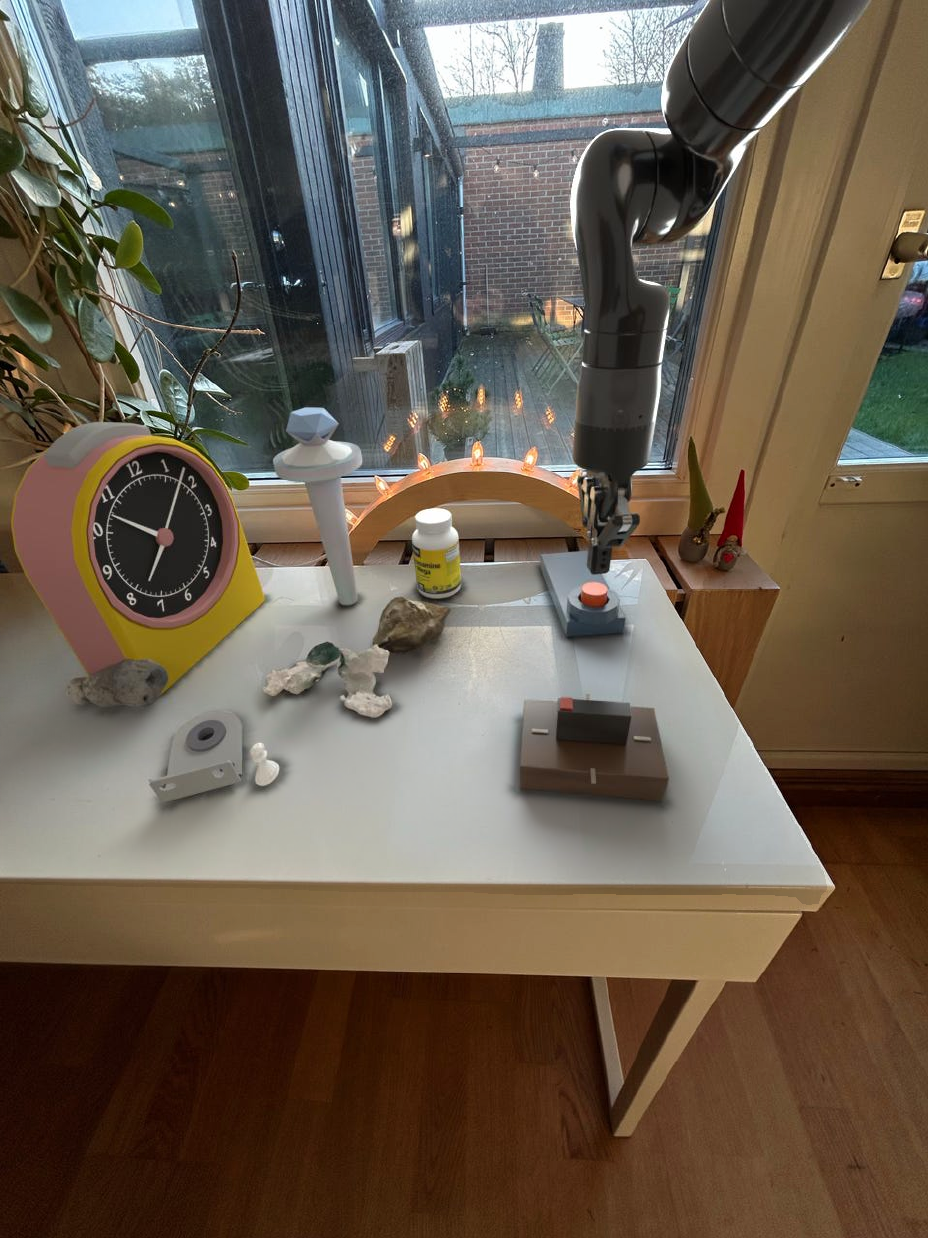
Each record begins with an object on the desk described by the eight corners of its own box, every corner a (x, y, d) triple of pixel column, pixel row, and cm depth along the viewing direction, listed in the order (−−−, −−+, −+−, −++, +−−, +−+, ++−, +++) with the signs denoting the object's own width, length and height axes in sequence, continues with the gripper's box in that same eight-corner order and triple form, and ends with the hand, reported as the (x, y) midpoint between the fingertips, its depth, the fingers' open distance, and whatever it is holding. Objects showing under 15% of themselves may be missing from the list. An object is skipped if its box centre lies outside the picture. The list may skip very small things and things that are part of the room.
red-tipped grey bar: (624, 731, 46) (630, 700, 44) (626, 745, 45) (632, 714, 42) (555, 725, 47) (558, 695, 45) (555, 739, 45) (558, 709, 43)
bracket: (244, 710, 55) (234, 686, 53) (242, 786, 47) (230, 761, 45) (178, 726, 53) (165, 702, 51) (163, 807, 45) (147, 783, 43)
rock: (411, 652, 59) (390, 633, 52) (401, 723, 57) (378, 715, 49) (290, 644, 62) (254, 625, 55) (277, 712, 60) (237, 702, 52)
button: (609, 606, 61) (611, 594, 60) (584, 608, 60) (585, 596, 59) (602, 593, 63) (603, 580, 62) (577, 595, 63) (578, 582, 62)
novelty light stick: (345, 575, 77) (307, 397, 62) (399, 591, 72) (371, 403, 58) (296, 610, 70) (240, 418, 55) (352, 629, 66) (308, 427, 51)
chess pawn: (270, 788, 46) (257, 759, 44) (250, 785, 47) (237, 755, 45) (284, 765, 48) (273, 736, 46) (265, 762, 49) (253, 733, 47)
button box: (626, 637, 62) (630, 609, 59) (567, 642, 61) (570, 614, 59) (587, 563, 76) (589, 539, 74) (540, 567, 76) (541, 542, 74)
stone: (76, 713, 57) (52, 725, 49) (68, 664, 57) (42, 669, 49) (178, 695, 61) (169, 704, 53) (170, 649, 61) (161, 652, 53)
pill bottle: (408, 591, 72) (398, 518, 66) (436, 572, 76) (430, 502, 70) (442, 605, 69) (436, 529, 63) (470, 584, 73) (466, 511, 67)
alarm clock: (154, 700, 57) (24, 463, 41) (91, 686, 59) (-54, 457, 44) (267, 598, 73) (203, 400, 58) (214, 590, 75) (139, 398, 60)
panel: (665, 813, 42) (672, 789, 41) (518, 799, 44) (518, 776, 42) (647, 721, 51) (652, 698, 49) (524, 713, 52) (524, 690, 51)
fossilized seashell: (383, 660, 56) (465, 644, 61) (374, 600, 56) (456, 588, 60) (365, 656, 63) (440, 642, 68) (357, 603, 63) (432, 592, 67)
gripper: (685, 429, 44) (652, 598, 54) (627, 395, 55) (609, 541, 65) (600, 437, 44) (583, 606, 54) (558, 400, 55) (551, 547, 65)
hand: (597, 570), depth 59 cm, fingers closed
